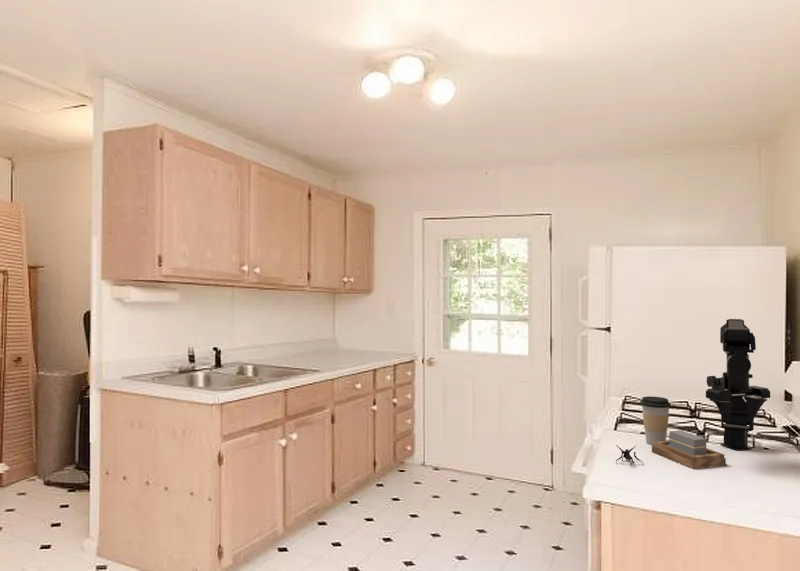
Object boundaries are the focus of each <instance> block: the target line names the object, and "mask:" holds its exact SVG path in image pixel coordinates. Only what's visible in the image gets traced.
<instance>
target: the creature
mask: <svg viewBox="0 0 800 571" xmlns="http://www.w3.org/2000/svg"><path fill="white" fill-rule="evenodd" d="M615 446H616V447H617V449H619V450H620V452H621V455H620V457H618V458H617V459H616V460H615V464H616V465H617V464H618V463H617V461H619V460H621V462H622V461H623V462H624V459H625V460H626V461H627V462H628V463H629V465H630V467H631V466H632V465H633V467H634V465H635V464H636V462H634V460H633V456H634V459H636V460H637V461H639V462H641V463H642V466H644V462H643V460H641V459H640V458H638V457H637V455H636V451H634V452H633V456H631V454H630V453H631V452H632V450H634V449H635V448H636V447H637V445H634V446H633V447H632V448H630V449H629V448H627V449H625V450H623V449H622V448H621V447H620V446H618V445H617V444H615ZM631 462H632V464H631Z"/></svg>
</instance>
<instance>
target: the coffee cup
mask: <svg viewBox="0 0 800 571" xmlns="http://www.w3.org/2000/svg"><path fill="white" fill-rule="evenodd" d="M641 399H642V400H640V403H639V404H640V405H641V407H642V408H641V409H642V420H643V428H644V433H645V434H644V435H645V442H646V444H648V445H651V446H653V442H657V441H667V432H668V426H669V417H670V414H669V413H670V408H671V406H672V405H671V402H669V399H668V398H666V397H661V396H650V395H649V396H643V397H642V398H641Z"/></svg>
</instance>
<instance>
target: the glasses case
mask: <svg viewBox="0 0 800 571" xmlns="http://www.w3.org/2000/svg"><path fill="white" fill-rule="evenodd" d="M668 434H669V436H668V437H669V438H668V440H669V446H670V447H672V448H675V449H678V450H680V451H683V452H686V453H688V454H691V455H693V456H695V455H705V454H706V448H708V446H707V438H705V437H702V436H699V435H696V434H693V433H691V432H688V431H684V430H681V429H680V430H670V431H669V433H668Z"/></svg>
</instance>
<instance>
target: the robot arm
mask: <svg viewBox="0 0 800 571" xmlns="http://www.w3.org/2000/svg"><path fill="white" fill-rule="evenodd" d="M719 331H720V332H719V335H720V337H719V339H720V340H719V341H720V342H719V343H720V344H722V351H723V352H724V353H725V354H726V372H723V373H722V377H717V376H716V375H710V376H708V375H707V376H706V385H707V387H709V388H707V389H706V391H705V398H706V399H708V400H709V401H711V402H713V404H715V405H716V408H717V409H718V411H719V415H720V427H721V429H724V430H723V431H724V432H723V443H722V442H721V443H720V446H723V447H725V448H728V449H731V450H733V451H744V450H745V451H746V450H752V449H753V447H752V446H749V444H748V443H749V441H748V439H749V437H748V434H749V433H748V432H752V431H754V425H755V424H754V423H755V417H756V415H757V414H758V413H759V411H760V409H761V408H762V406H763V405H764V403H765V402H767V401H768V399H771V391H770V390H769V388H767V387H764V386H763V387H762V386H757V385H750V379H753V378H754V377H753V374H751V373H750V371H751V369H752V363H751V360H750V355H749V354H751V353H752V354H753V353H755V352H754V351H756V349H757V347H756V336H755V334H754V333H753V332H751V329H750V328H749V327H748V326H747V325H745V320H744V319H742V318H728V319H726V322H725V324H723V325H722V326H721V327H720V328H719ZM748 353H749V354H748Z"/></svg>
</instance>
